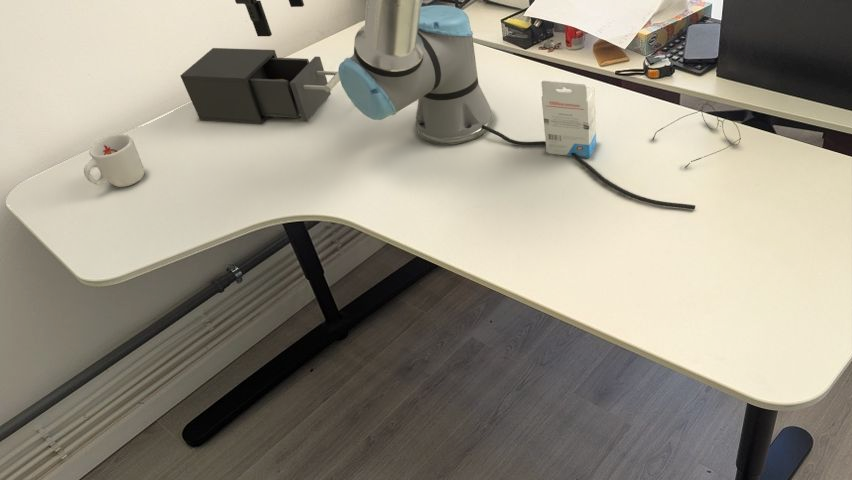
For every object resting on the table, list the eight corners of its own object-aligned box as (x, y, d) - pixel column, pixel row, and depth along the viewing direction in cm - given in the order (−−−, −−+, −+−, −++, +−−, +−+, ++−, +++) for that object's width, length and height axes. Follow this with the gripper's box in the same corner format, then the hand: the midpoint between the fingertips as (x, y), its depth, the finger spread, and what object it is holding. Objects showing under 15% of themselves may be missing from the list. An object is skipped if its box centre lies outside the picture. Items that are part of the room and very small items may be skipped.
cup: (109, 203, 137) (88, 168, 132) (88, 191, 141) (66, 157, 136) (157, 174, 143) (139, 139, 138) (136, 163, 147) (117, 129, 142)
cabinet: (289, 94, 162) (274, 49, 155) (261, 124, 154) (244, 78, 147) (230, 91, 167) (212, 47, 159) (199, 120, 158) (179, 75, 151)
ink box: (597, 144, 135) (596, 71, 125) (589, 159, 131) (587, 85, 121) (553, 139, 137) (549, 67, 127) (545, 153, 134) (539, 80, 124)
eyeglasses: (688, 171, 126) (690, 146, 122) (648, 138, 134) (649, 114, 131) (742, 151, 128) (746, 126, 125) (700, 120, 137) (702, 96, 133)
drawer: (356, 95, 157) (346, 57, 151) (334, 123, 149) (322, 84, 143) (273, 91, 162) (260, 54, 156) (247, 118, 154) (232, 80, 149)
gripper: (259, -117, 137) (294, -5, 151) (185, -73, 120) (232, 48, 134) (294, -119, 135) (326, -6, 149) (223, -75, 118) (267, 49, 132)
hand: (281, 20), depth 142 cm, fingers open, 13 cm apart
